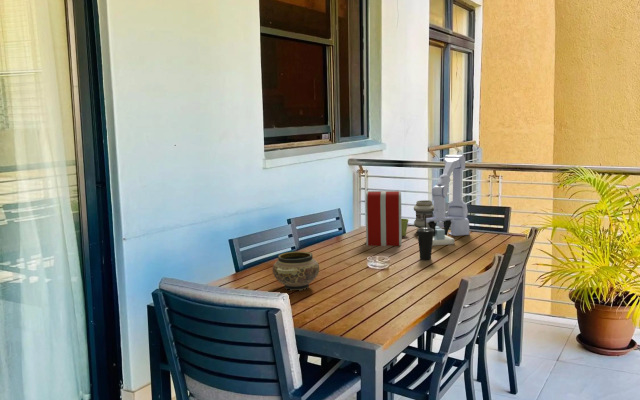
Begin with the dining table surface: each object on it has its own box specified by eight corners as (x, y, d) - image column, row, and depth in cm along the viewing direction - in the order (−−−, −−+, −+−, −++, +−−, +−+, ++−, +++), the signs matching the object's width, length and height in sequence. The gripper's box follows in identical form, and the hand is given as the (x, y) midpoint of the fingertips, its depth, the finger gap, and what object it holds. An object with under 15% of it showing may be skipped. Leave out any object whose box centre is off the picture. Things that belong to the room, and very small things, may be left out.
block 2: (441, 240, 306) (441, 228, 305) (444, 241, 302) (444, 229, 301) (434, 240, 305) (434, 229, 304) (437, 242, 301) (437, 230, 300)
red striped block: (401, 245, 299) (400, 192, 296) (366, 245, 302) (365, 193, 299) (401, 239, 316) (401, 188, 312) (368, 239, 318) (367, 189, 315)
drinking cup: (434, 261, 265) (433, 217, 262) (416, 261, 266) (416, 217, 264) (434, 257, 272) (434, 214, 270) (417, 257, 274) (417, 214, 271)
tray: (442, 238, 315) (442, 233, 314) (454, 243, 300) (454, 239, 300) (421, 239, 312) (421, 235, 312) (432, 245, 298) (432, 240, 297)
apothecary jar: (410, 232, 335) (409, 200, 333) (429, 230, 339) (429, 199, 336) (419, 235, 324) (419, 203, 321) (439, 234, 327) (439, 201, 325)
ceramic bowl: (295, 284, 244) (286, 249, 243) (334, 277, 236) (324, 241, 236) (266, 302, 221) (256, 263, 221) (307, 294, 214) (297, 254, 213)
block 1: (437, 237, 319) (437, 226, 318) (440, 238, 315) (440, 227, 314) (430, 237, 318) (430, 226, 317) (433, 239, 314) (433, 227, 313)
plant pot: (410, 236, 321) (409, 221, 320) (392, 237, 322) (392, 221, 321) (407, 233, 331) (407, 218, 330) (390, 234, 331) (390, 218, 330)
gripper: (429, 211, 296) (429, 237, 297) (456, 209, 299) (456, 235, 300) (423, 209, 303) (424, 235, 304) (450, 207, 305) (450, 233, 307)
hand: (439, 235), depth 303 cm, fingers open, 6 cm apart
